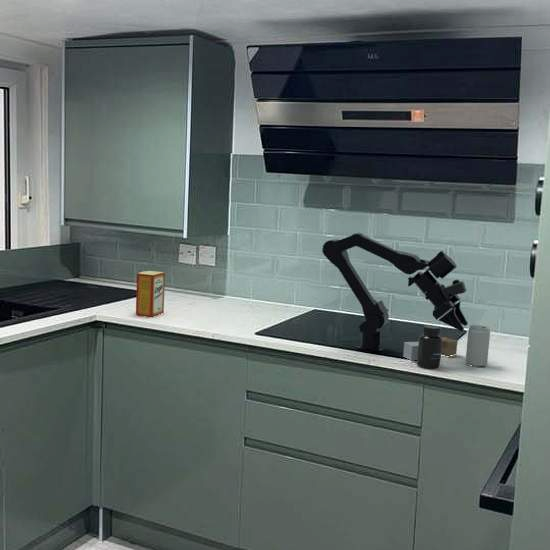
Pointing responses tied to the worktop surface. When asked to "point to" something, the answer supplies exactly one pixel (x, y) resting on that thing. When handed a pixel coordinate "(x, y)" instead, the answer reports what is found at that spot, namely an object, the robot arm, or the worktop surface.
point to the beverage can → (477, 345)
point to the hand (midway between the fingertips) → (464, 327)
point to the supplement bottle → (429, 348)
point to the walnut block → (448, 346)
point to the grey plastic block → (411, 350)
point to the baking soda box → (150, 293)
